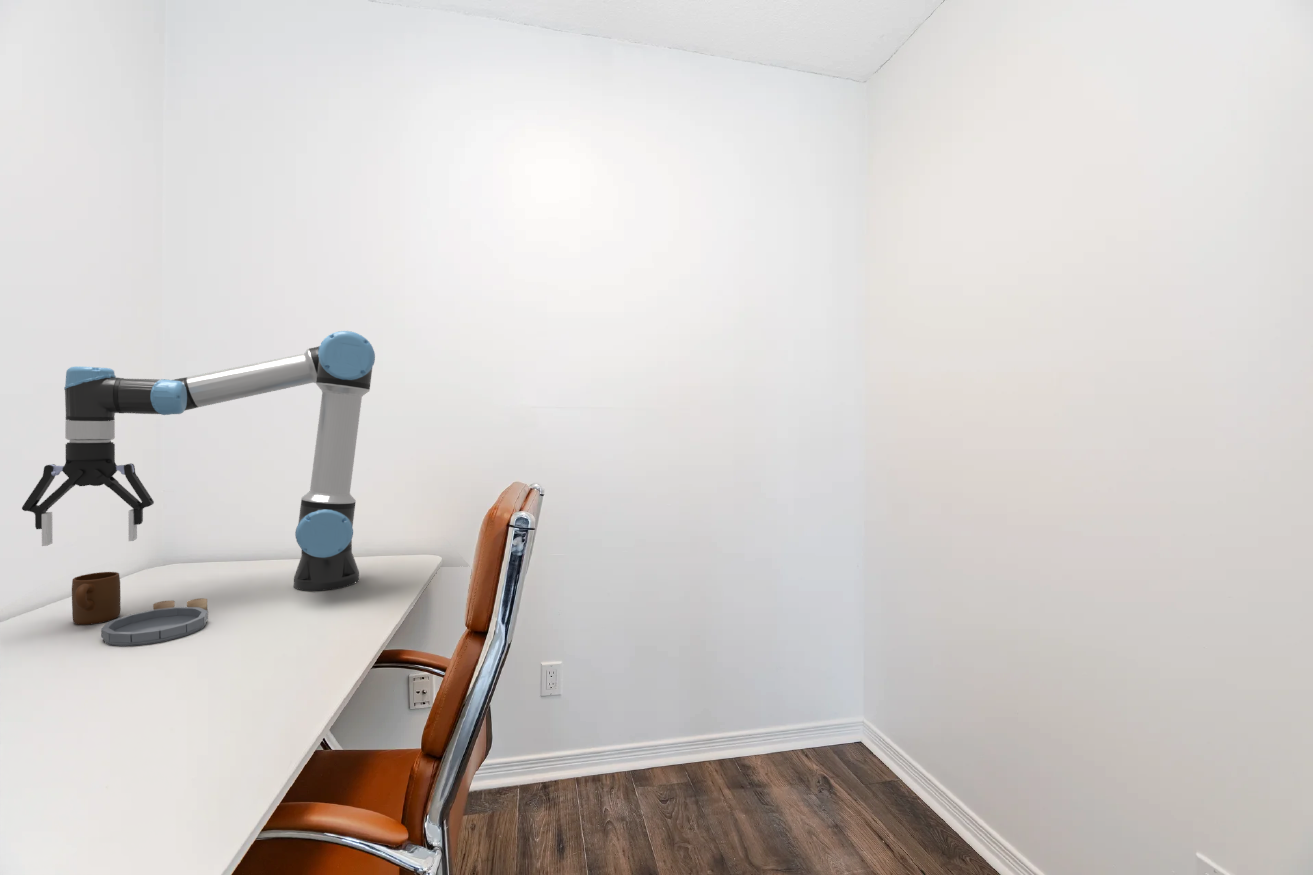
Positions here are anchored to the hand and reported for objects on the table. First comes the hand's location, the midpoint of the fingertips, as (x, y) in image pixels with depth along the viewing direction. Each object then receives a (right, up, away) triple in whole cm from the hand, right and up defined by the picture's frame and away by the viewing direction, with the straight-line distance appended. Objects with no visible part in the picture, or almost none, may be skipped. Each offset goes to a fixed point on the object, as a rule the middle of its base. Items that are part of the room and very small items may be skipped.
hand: (91, 542), depth 127 cm
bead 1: (+11, -17, +5) cm, 21 cm away
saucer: (+17, -17, -4) cm, 25 cm away
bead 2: (+17, -17, +7) cm, 25 cm away
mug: (0, -17, 0) cm, 17 cm away
